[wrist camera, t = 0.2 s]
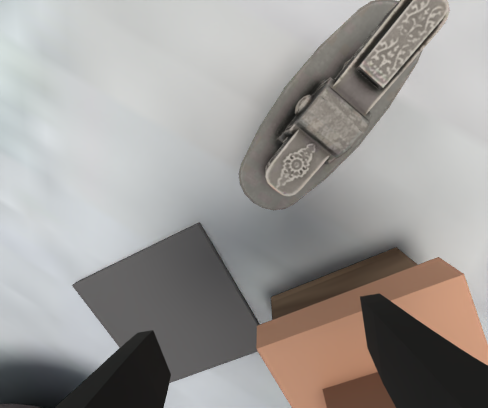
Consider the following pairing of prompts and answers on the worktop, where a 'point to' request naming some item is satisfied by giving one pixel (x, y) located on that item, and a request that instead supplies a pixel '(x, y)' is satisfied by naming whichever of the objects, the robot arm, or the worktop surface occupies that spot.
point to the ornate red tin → (337, 99)
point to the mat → (175, 303)
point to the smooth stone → (17, 406)
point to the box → (340, 282)
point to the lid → (364, 337)
